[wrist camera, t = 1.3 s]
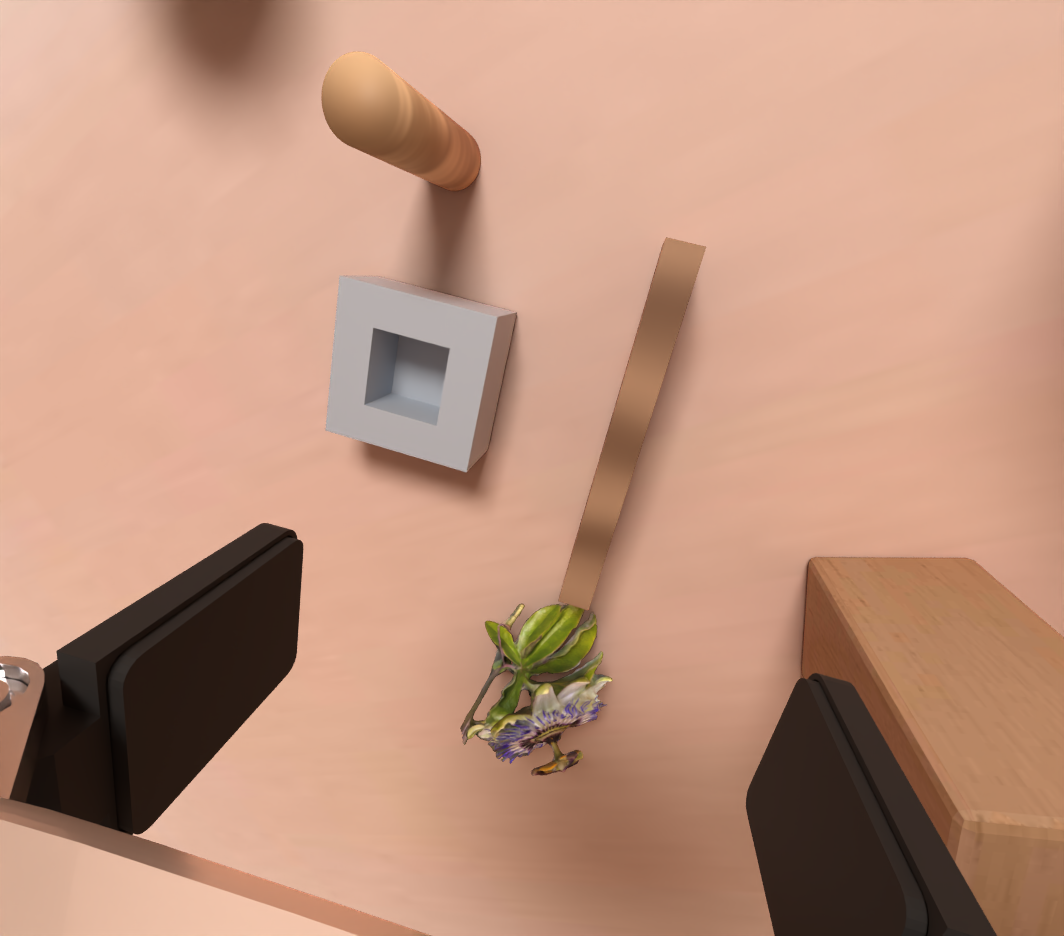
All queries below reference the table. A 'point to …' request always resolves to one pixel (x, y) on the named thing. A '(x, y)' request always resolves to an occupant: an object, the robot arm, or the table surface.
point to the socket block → (416, 369)
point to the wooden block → (958, 714)
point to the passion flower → (540, 685)
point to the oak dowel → (396, 122)
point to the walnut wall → (631, 415)
